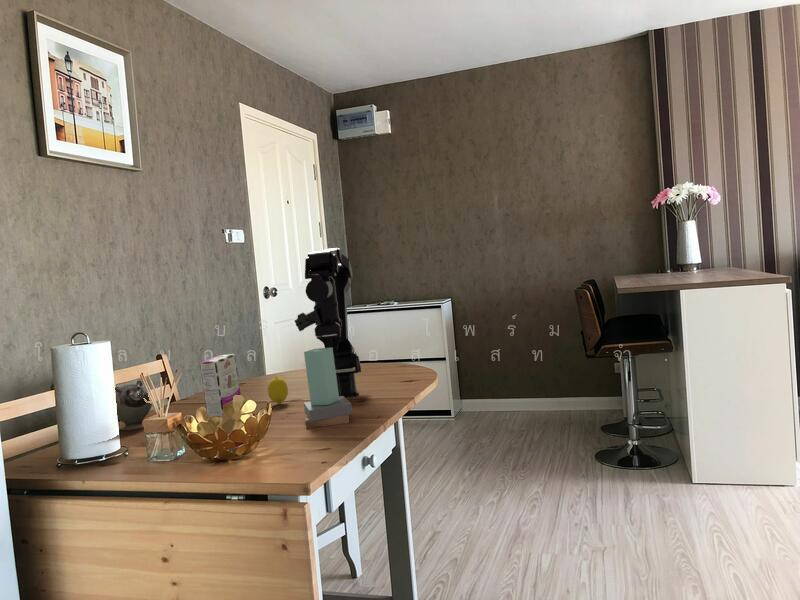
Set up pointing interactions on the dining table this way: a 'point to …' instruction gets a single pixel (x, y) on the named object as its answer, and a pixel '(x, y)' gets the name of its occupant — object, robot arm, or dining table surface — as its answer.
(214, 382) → the candy bar box
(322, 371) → the pillar
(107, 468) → the dining table surface
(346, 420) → the bottom slab
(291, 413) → the dining table surface
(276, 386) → the lemon
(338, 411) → the top slab
